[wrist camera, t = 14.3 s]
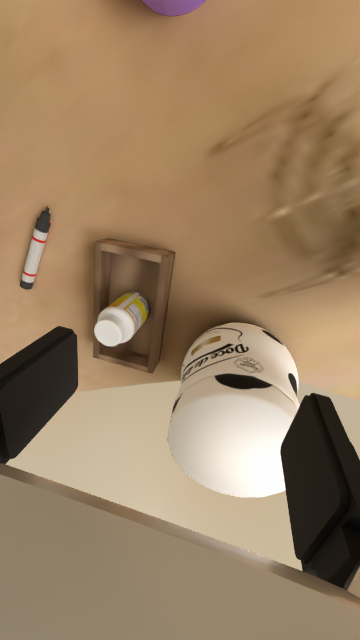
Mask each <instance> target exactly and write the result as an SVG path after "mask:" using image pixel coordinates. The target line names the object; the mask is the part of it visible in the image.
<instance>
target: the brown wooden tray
mask: <svg viewBox="0 0 360 640" xmlns="http://www.w3.org/2000/svg"><path fill="white" fill-rule="evenodd" d="M174 258H175V252H171V251H166V250H161V249H156V248H151V247H147V246H142V245H137V244H132V243H127V242H123V241H118V240H113V239H104V240H99V241H95V248H94V328H95V325H96V323H97V320H98V316H99V314H100V313H101V312H102V311H103V310H104V309H105V308H107V307H108V306H109V305H111V304H112V303H113V302H115V301H116V300H117V299H118V298H120V297H121V296H122V295H124V294H125V293H127V292H138V293H140V294H142V295H144V296H145V297H146V298H147V300H148V301H149V304H150V308H151V311H150V315H149V317H148V318H147V320H146V321H145V322H144V323H143V324H142V326H141V327H140V328H139V329H138V330H137V332H136V333H135V334H134V335H133V337H132V338H131V339H130V340H128V341H127V342H125V343H119V344H117V345H116V346H106V345H104V344H102V343H101V342H99V341H98V339H97V338H96V336H95V333H94V344H93V357H94V358H98V359H102V360H105V361H109V362H112V363H116V364H120V365H123V366H127V367H130V368H134V369H138V370H141V371H145V372H149V373H152V374H153V372H154V370H155V368H156V366H157V364H158V363H159V360H160V353H161V346H162V340H163V333H164V326H165V319H166V312H167V305H168V299H169V292H170V285H171V278H172V271H173V265H174Z"/></svg>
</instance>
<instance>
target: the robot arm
mask: <svg viewBox="0 0 360 640" xmlns="http://www.w3.org/2000/svg"><path fill="white" fill-rule="evenodd" d="M77 387H78V357H77V335H76V334H74V331H73V330H72V329H69V328H65V327H61V326H58V327H56V328H54V329H53V330H51V331H50V332H48V333H47V334H45V335H44V336H42V337H41V338H39V339H38V340H36V341H35V342H33V343H31V344H30V345H28V346H27V347H25V348H24V349H22V350H21V351H19V352H18V353H16V354H15V355H13V356H12V357H10V358H9V359H7V360H5V361H4V362H2V363H1V364H0V640H360V460H359V458H358V455H357V453H356V451H355V449H354V447H353V445H352V444H351V442H350V441H349V439H348V437H347V434H346V432H345V430H344V427H343V425H342V423H341V421H340V419H339V416H338V414H337V412H336V410H335V407H334V405H333V403H332V401H331V399H330V398H329V397H326V396H323V395H319V394H315V393H311V394H310V396H307V395H306V396H305V397H304V398H303V400H302V402H301V404H300V407H299V409H298V411H297V413H296V415H295V417H294V419H293V421H292V423H291V425H290V427H289V429H288V431H287V434H286V436H285V438H284V440H283V442H282V444H281V449H280V455H281V461H282V468H283V475H284V482H285V489H286V495H287V502H288V509H289V516H290V523H291V529H292V536H293V543H294V550H295V555H296V557H297V559H299V560H301V563H302V569H303V571H300V570H297V569H295V568H292V567H289V566H287V565H284V564H282V563H279V562H277V561H274V560H271V559H268V558H266V557H263V556H261V555H258V554H256V553H253V552H250V551H247V550H245V549H242V548H239V547H236V546H233V545H231V544H228V543H225V542H222V541H219V540H217V539H214V538H211V537H209V536H206V535H203V534H200V533H198V532H195V531H192V530H189V529H186V528H184V527H181V526H178V525H175V524H173V523H170V522H167V521H164V520H161V519H159V518H156V517H153V516H150V515H147V514H144V513H142V512H139V511H136V510H133V509H131V508H128V507H125V506H122V505H119V504H116V503H114V502H110V501H108V500H105V499H102V498H100V497H97V496H94V495H91V494H88V493H85V492H82V491H80V490H77V489H74V488H71V487H68V486H65V485H63V484H60V483H57V482H54V481H51V480H48V479H45V478H42V477H39V476H37V475H34V474H31V473H28V472H25V471H22V470H19V469H16V468H14V467H11V466H8V465H5V464H6V463H7V462H8V461H9V460H10V458H11V459H13V458H15V457H16V456H17V455H18V454H19V453H20V452H21V451H22V450H23V449H24V448H25V447H26V446H27V444H28V443H29V442H30V441H31V440H32V439H33V438H34V437H35V436H36V434H37V433H38V432H39V431H40V430H41V429H42V428H43V427H44V426H45V424H46V423H47V422H48V421H49V420H50V419H51V418H52V417H53V416H54V414H55V413H56V412H57V411H58V410H59V409H60V408H61V407H62V406H63V405H64V403H65V402H66V401H67V400H68V399H69V398H70V397H71V396H72V395H73V393H74V392H75V391H76V389H77Z"/></svg>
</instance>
